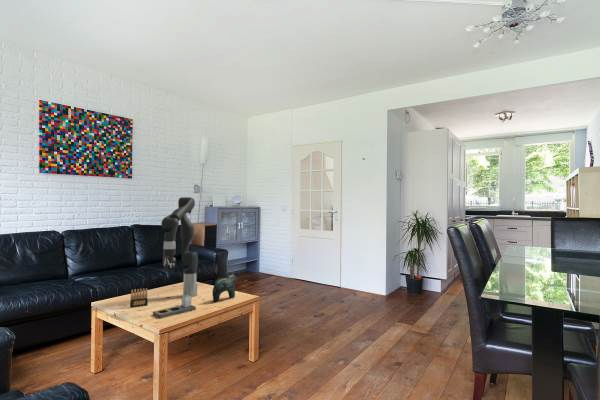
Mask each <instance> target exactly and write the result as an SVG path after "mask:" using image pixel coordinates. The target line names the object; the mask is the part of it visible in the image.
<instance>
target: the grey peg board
mask: <svg viewBox="0 0 600 400" xmlns="http://www.w3.org/2000/svg"><path fill="white" fill-rule="evenodd" d="M196 309H197V306H195V305H192V304H191V307H188V308H183V307H181V305H175V306H171V307H168V308H163V309H158V310H155V311H152V316H155V317H156V318H159V319H165V318H168V317H169V318H170V317H172V316H177V315H180V314H183V313H184V314H185V313H189V312H193V311H196ZM192 310H193V311H192Z"/></svg>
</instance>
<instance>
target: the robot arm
mask: <svg viewBox="0 0 600 400" xmlns="http://www.w3.org/2000/svg"><path fill="white" fill-rule="evenodd" d="M177 205H178V208H176V209H175V210H173V211H172V213H171V214H169V215H167V216H165V217H163V219H162V221H161V227H162V228H163V229H170V231H167V232H166V231H165V233H164V235H163V237H164V238H163V250H162V251H163V253H162V255H163V256H162V266H164V268H163V271H164V272H165V273H167V272H168V271H170V274H174V273H175V268H176V267H177V258H176V257H175V255H176V249H177V248H176V246H177V245H176V244H177V243H176V236H177V231H178V228H179V225H180V236H181V237H180V238H181V262H182V263H183V264H186V265H189V267H186V268H184V269H183V284H182V285H183V289H182V290H183V293H182V296H184V295H190V296H191V298H192V297H196V296H197V295H198V282H197V271H198V266H199V265H198V262H199V256H198V255H199V254H198V253H197V252H196V251H195V252H194V251H190V243H191V242H192V240H193V238H194V237H195V236H194V235H195V228H194V224H193V223H192V222H191V219H189V217H188V215H187V214H188V213H189V212H191V211H192V210H193V209H194V208H195V205H196V202H195V199H194V198H193V197H191V196H190V197H188V196H187V197H185V196H184V197H183V196H181V197H179V198H178V202H177ZM179 221H180V223H179ZM169 267H170V270H169Z"/></svg>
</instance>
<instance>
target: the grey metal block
mask: <svg viewBox="0 0 600 400" xmlns="http://www.w3.org/2000/svg"><path fill="white" fill-rule="evenodd" d="M191 305H192V297H191V296H190V295H184V296H183V295H181V307H183V308H188V307H191Z"/></svg>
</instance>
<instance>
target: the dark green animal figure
mask: <svg viewBox="0 0 600 400" xmlns="http://www.w3.org/2000/svg"><path fill="white" fill-rule="evenodd" d="M227 273H228V274H227ZM224 274H225V275H226V276H227V277H222V278H221V277H219V278H217V279H216V280H215V283H214V285H213V288H212V301H213V303H219V302H220V296H221V295H222V293H224V292H227V293H228V298H229V297H230V298H229V299H231V298H232V299H234V298H233V297H235V296H236V283H237V276H236V275H235V274H234V273H231V274H230V272H228V271H226V272H225V273H224ZM235 298H236V297H235ZM218 301H219V302H218Z"/></svg>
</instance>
